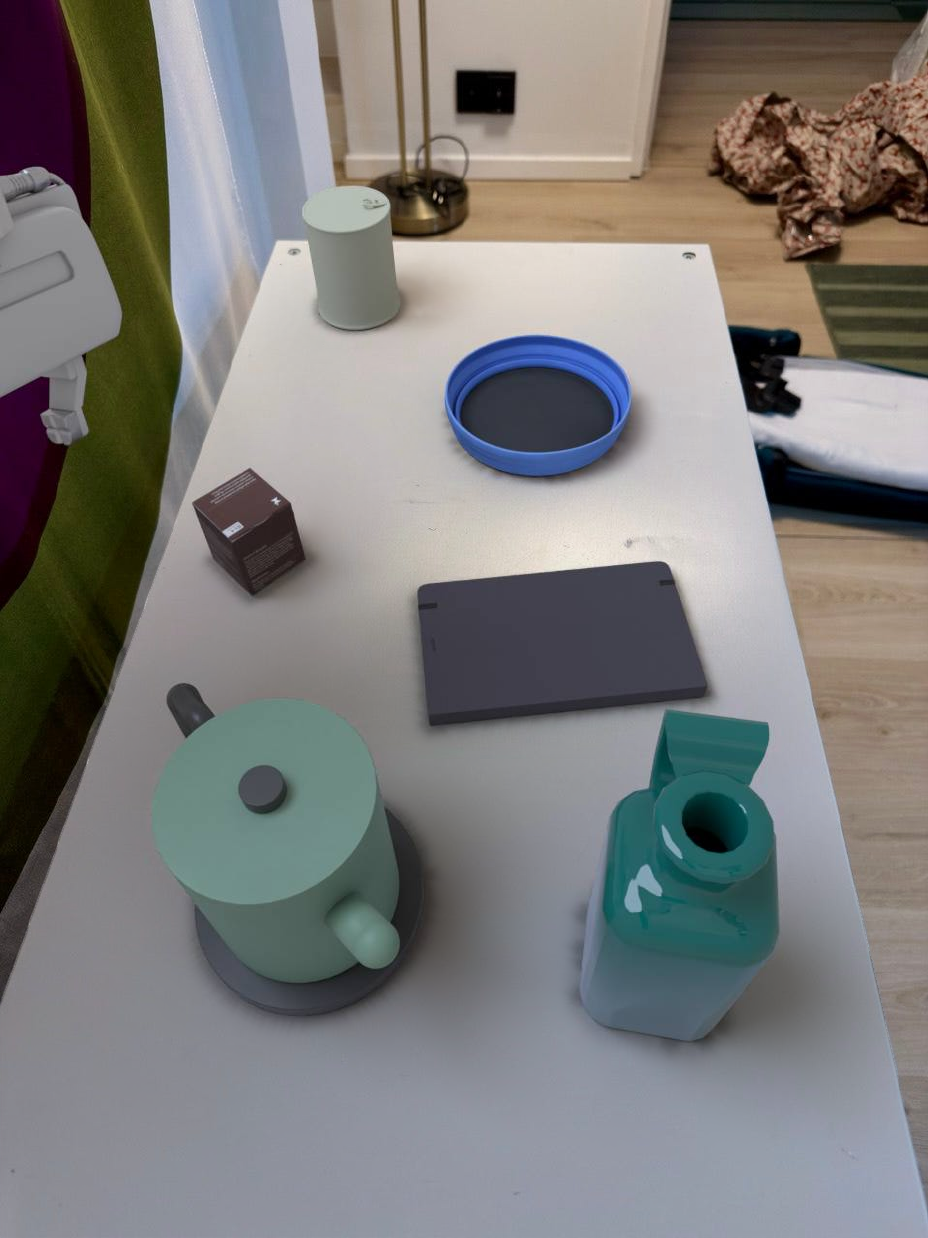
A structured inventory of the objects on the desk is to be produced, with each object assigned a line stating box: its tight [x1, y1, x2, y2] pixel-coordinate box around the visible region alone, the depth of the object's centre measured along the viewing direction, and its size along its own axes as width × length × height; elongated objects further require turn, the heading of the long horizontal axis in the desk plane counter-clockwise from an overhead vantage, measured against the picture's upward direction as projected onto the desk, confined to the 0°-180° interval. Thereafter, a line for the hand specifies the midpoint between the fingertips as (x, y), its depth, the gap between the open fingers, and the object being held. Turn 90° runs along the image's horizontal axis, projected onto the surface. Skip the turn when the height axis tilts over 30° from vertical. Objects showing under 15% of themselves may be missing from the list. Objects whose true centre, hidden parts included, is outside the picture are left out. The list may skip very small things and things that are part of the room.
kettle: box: [150, 682, 400, 983], centre depth 53 cm, size 22×12×15 cm, turn 41°
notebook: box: [417, 560, 708, 726], centre depth 72 cm, size 13×2×21 cm
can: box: [301, 185, 401, 331], centre depth 97 cm, size 9×9×12 cm
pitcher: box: [579, 708, 781, 1042], centre depth 49 cm, size 10×8×22 cm
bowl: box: [444, 334, 632, 477], centre depth 88 cm, size 18×18×4 cm
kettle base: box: [194, 806, 425, 1017], centre depth 60 cm, size 15×15×2 cm
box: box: [191, 467, 307, 597], centre depth 76 cm, size 6×6×7 cm
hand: (10, 476), depth 49 cm, fingers open, 8 cm apart
